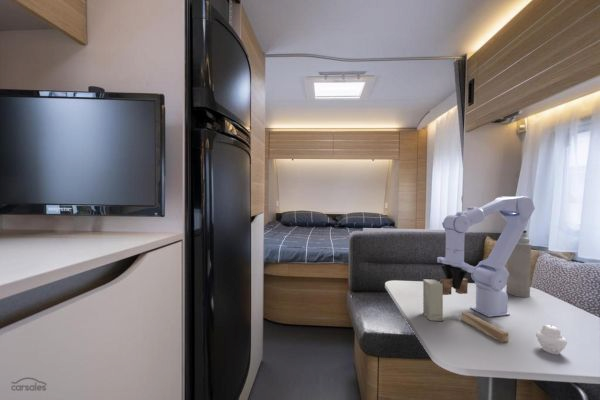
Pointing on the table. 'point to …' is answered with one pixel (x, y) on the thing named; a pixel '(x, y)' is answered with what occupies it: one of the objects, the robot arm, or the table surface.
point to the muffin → (551, 339)
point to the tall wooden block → (449, 284)
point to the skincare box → (433, 299)
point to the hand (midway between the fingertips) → (453, 287)
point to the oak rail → (486, 327)
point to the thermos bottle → (519, 268)
